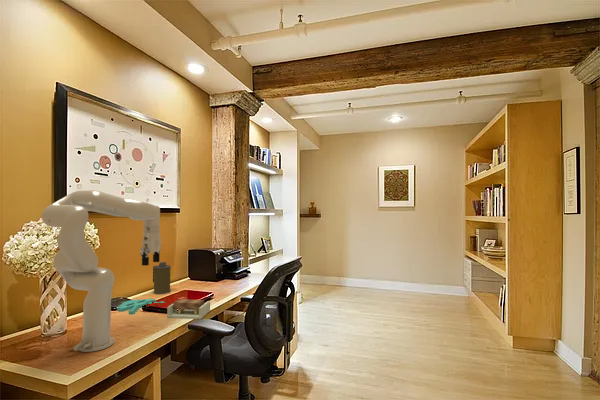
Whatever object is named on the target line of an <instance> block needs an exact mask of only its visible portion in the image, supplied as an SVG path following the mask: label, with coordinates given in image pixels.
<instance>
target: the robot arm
mask: <svg viewBox="0 0 600 400" xmlns="http://www.w3.org/2000/svg"><path fill="white" fill-rule="evenodd" d="M89 212H94V213H99V214H103V215H109V216H113V217H121V218H122V217H123V218H124V217H125V218H127V217H128V218H129V219H131V220H132V221H143V227H142V228H143V229H142V231H143V232H142V233H143V236H142V241H141V242H142V243H141V248H139V251H140V255H141V266H149V265H150V261H149V260H150V258H149V256H150V254H152V262H153V263H160V255H161V250H162V238H161V233H160V231H161V230H160V228H161V225H160V224H161V208H160V206H159V205H155V204H153V203H152V204H151V203H149V202H144V201H141V200H140V201H139V200H134V199H131V198H130V199H129V198H126V197H122V196H121V197H120V196H117V195H113V194H110V193H106V192H102V191H100V190H99V191H98V190H77V191H73V192H71V193H68V194H67V195H65V196H64V197H62V198H60V199H58V200H57V201H55V202H53V203H51V204H49V205H48V206H47V207H45V208H44V209H43V210H42V214H41V220H42V222H43V223H44V224H45V225H46V226H48V227H53V228H60V229H59V233H58V235H57V242H56V243H57V246H58V248H59V250H58V251H57V252H56V253H55V255H54V258H53V265H54V268H55V270H56V271H57V272H58V274H59V275H60V276H61V278H62V279H63V280H64V281H65V282H66V284H67V285H68V286H69V287H70V288H71V289H74V290H76V291H77V290H79V291H85V292H88V293H87V294H86V296H85V298H84V301H83V306H82V309H83V310H82V312H83V313H82V314H83V315H82V338H80V342H79V343H78V344H76V345H74V346H73V347H72V349H73V351H75V352H77V351H79V352H82V353H90V352H97V351H102V350H104V349H105V350H106V349H107V348H109V347H110V346H112V345H114V343H115V338H114V337H113V336H112V337H111V326H112V325H111V322H112V321H111V320H112V318H111V317H112V316H111V315H112V312H111V311H112V293H113V292H112V291H113V288H114V283H115V275H114V273H113V271H112V270H111V269H109V268H107V267H98V265H99V258H98V255H97V253H96V252H95V250H94V249H93V248H92V246H91V245H90V244H89V242H88V240H87V239H86V237H85V236H86V235H85V229H86V226H87V224H88V221H89Z"/></svg>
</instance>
